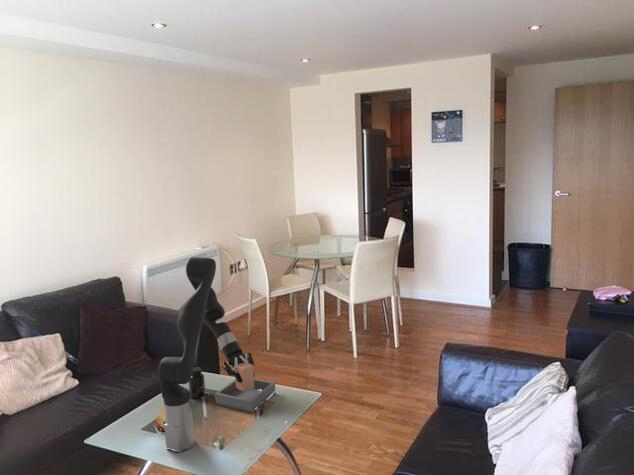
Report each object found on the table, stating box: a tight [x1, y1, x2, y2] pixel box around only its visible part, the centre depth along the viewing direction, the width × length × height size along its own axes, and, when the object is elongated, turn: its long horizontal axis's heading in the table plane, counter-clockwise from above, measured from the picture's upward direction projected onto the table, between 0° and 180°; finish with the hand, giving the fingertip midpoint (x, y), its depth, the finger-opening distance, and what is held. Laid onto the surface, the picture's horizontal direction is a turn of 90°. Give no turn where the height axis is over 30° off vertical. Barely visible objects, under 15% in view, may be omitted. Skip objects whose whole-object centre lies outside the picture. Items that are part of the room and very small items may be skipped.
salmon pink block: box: [234, 362, 255, 392], centre depth 221 cm, size 6×6×10 cm
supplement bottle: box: [187, 366, 206, 399], centre depth 227 cm, size 7×7×12 cm
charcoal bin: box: [214, 378, 276, 414], centre depth 222 cm, size 18×18×5 cm
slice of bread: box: [155, 406, 166, 431], centre depth 210 cm, size 18×18×4 cm
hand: (247, 379), depth 220 cm, fingers closed on salmon pink block, 5 cm apart
